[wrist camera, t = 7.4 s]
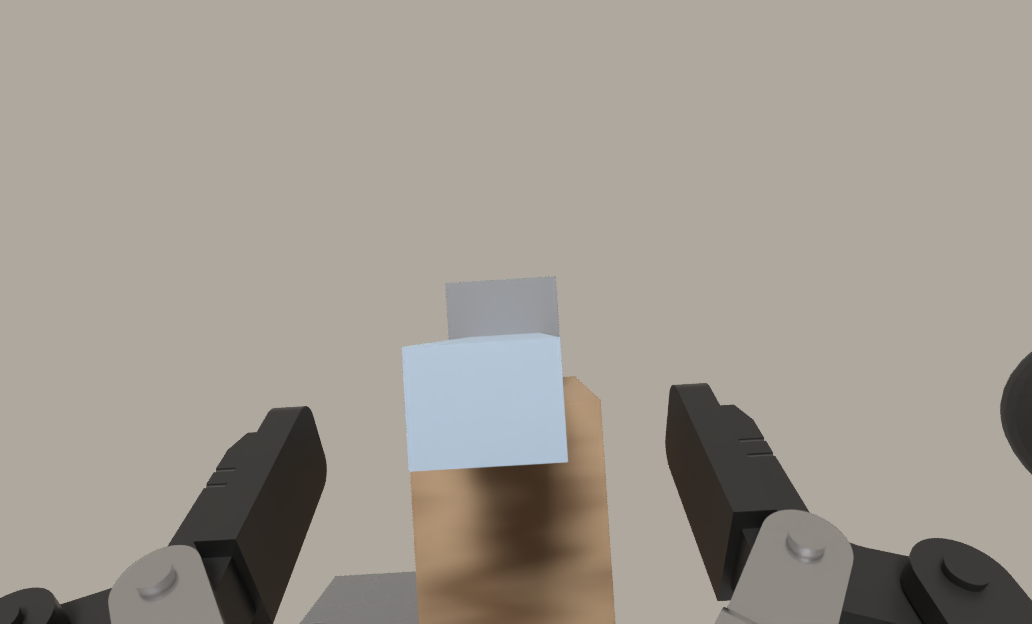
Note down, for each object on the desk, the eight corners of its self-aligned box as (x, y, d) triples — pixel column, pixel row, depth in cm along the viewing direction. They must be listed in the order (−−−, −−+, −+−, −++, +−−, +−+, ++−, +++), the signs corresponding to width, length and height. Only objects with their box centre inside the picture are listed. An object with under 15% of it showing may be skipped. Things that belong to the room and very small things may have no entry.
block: (556, 377, 30) (550, 285, 30) (613, 459, 11) (596, 211, 11) (463, 383, 30) (458, 290, 30) (364, 474, 11) (350, 227, 11)
